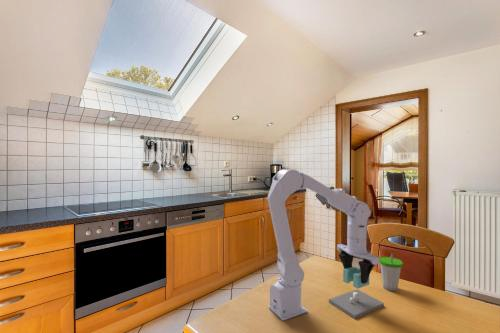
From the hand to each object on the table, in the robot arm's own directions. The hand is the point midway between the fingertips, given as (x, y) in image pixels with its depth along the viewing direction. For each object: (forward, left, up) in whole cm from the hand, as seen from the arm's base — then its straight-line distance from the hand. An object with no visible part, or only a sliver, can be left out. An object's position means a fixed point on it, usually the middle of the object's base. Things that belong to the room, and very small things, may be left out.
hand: (356, 278), depth 82 cm
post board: (0, 0, -8) cm, 8 cm away
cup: (+20, +1, -9) cm, 22 cm away
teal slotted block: (0, 0, -1) cm, 1 cm away
